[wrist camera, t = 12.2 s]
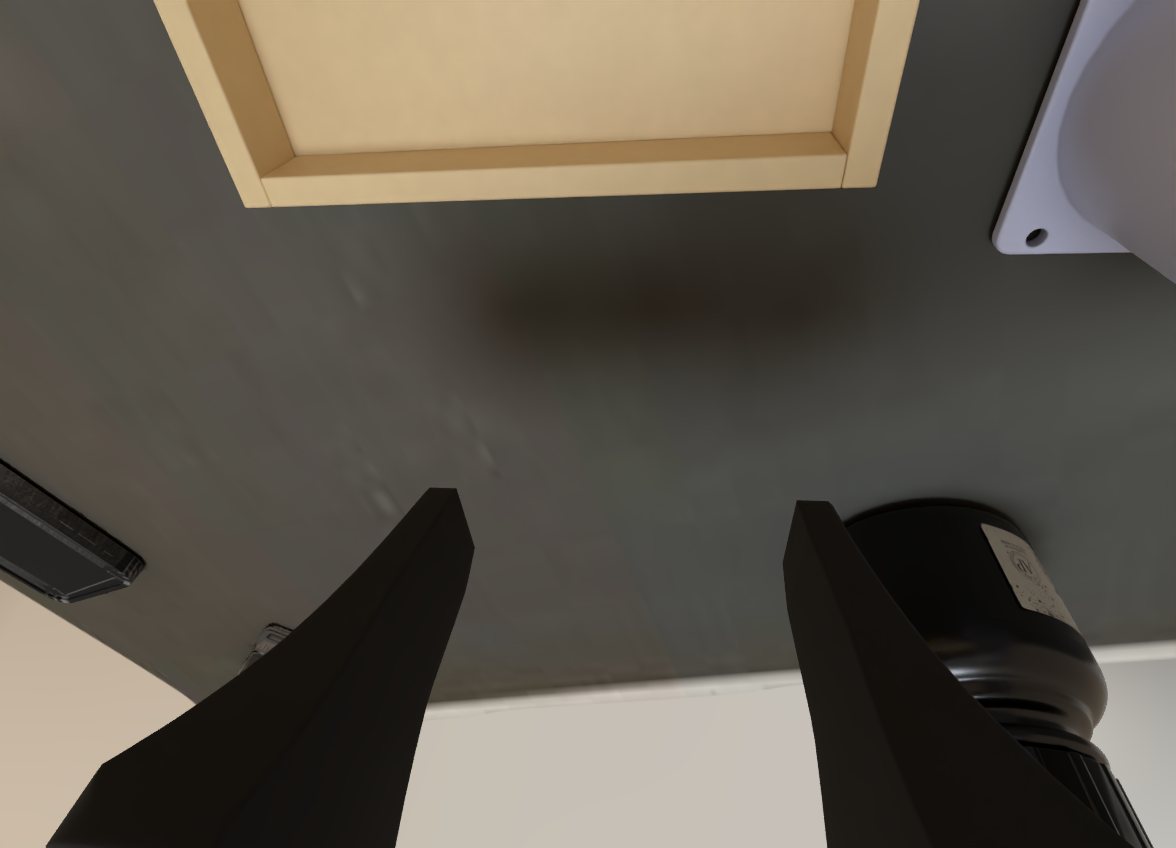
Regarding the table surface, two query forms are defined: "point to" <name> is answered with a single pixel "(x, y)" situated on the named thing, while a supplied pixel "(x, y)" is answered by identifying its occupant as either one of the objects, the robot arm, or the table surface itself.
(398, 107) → the tray
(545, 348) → the table surface
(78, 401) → the table surface
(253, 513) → the table surface
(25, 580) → the phone
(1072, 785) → the ink bottle
